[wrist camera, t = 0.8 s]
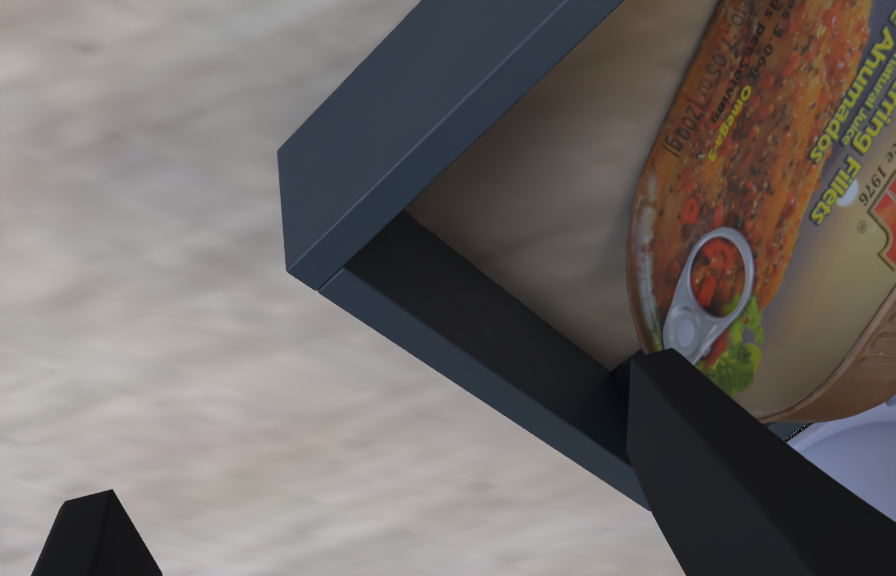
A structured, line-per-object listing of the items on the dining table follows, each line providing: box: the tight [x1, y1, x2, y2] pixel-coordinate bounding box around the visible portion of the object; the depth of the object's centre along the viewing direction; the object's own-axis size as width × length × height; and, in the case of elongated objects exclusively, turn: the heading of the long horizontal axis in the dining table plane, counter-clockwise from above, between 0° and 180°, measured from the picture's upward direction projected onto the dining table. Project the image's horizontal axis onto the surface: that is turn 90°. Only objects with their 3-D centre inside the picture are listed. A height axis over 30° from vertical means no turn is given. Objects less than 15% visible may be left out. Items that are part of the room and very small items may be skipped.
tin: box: [626, 0, 896, 424], centre depth 18 cm, size 15×3×8 cm, turn 163°
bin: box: [277, 0, 806, 511], centre depth 19 cm, size 14×20×5 cm
